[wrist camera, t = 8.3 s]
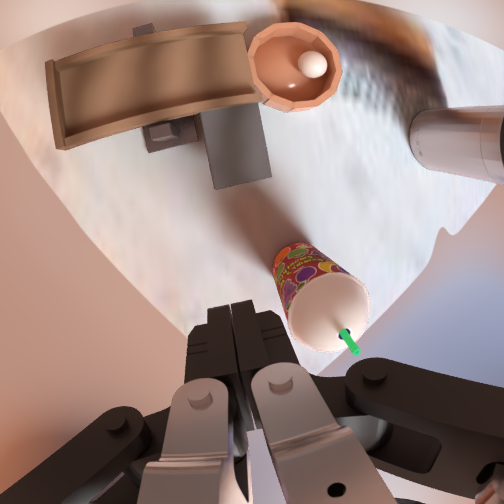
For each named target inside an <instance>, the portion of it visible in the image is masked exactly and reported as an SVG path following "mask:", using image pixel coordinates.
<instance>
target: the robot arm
mask: <svg viewBox="0 0 504 504" xmlns="http://www.w3.org/2000/svg"><path fill="white" fill-rule="evenodd" d="M409 136H410V145H411V149H412V152H413V154H414V156H415V158H416V160H417V161H418V162H419V163H420V164H421V165H422V166H423V167H425V168H427V169H429V170H434V171H439V172H445V173H449V174H455V175H460V176H465V177H470V178H475V179H479V180H484V181H488V182H493V183H497V184H502V185H504V105H498V106H474V107H457V108H442V109H431V110H425V111H422V112H420V113H419V114H417V116H416V117H415V118H414V120H413V122H412V124H411V127H410V135H409ZM231 310H232V314H231ZM231 310H230V306H229V304H228V305H223V306H219V307H214V308H209V309H208V310H207V324H202V325H197V326H195V327H194V328H193V330H192V331H191V332H190V334H189V335H188V344H187V346H188V347H187V356H186V367H185V380H184V385H183V386H181V387H180V388H179V389H178V390H177V391H176V392H175V394H174V396H173V398H172V403H171V406H170V407H168V408H166V409H164V410H162V411H159V412H156V413H154V414H151V415H148V416H145V417H143V416H142V415H141V413H140V412H139V411H138V410H137V409H135V408H132V407H127V406H121V407H116V408H113V409H110V410H108V411H106V412H105V413H103V414H102V415H101V416H100V417H98V418H97V419H96V420H95V421H93V422H92V423H91V424H90V425H88V426H87V427H86V428H85V429H84V430H82V431H81V432H80V433H79V434H77V435H76V436H75V437H74V438H72V439H71V440H70V441H69V442H67V443H66V444H65V445H64V446H62V447H61V448H60V449H59V450H57V451H56V452H55V453H54V454H52V455H51V456H50V457H49V458H47V459H46V460H45V461H43V462H42V463H41V464H40V465H38V466H37V467H36V468H34V469H33V470H32V471H30V472H29V473H28V474H27V475H25V476H24V477H23V478H21V479H20V480H19V481H18V482H16V483H15V484H13V485H12V486H11V487H9V488H8V489H7V490H5V491H4V492H3V493H2V494H0V504H253V499H252V485H251V468H250V454H249V450H248V438H247V433H246V431H251V430H254V424H253V419H252V414H253V418H254V421H255V424H256V428H257V429H261V428H262V429H263V432H264V436H265V439H266V443H267V446H268V450H269V453H270V456H271V459H272V463H273V466H274V468H275V471H276V474H277V477H278V480H279V483H280V486H281V489H282V492H283V495H284V497H285V501H286V504H425V503H421V502H418V501H414V500H409V499H400V498H394V497H393V495H392V494H391V492H390V490H389V489H388V487H387V486H386V484H385V482H384V481H383V479H382V477H381V476H380V474H379V473H378V471H377V469H380V470H382V471H385V472H388V473H390V474H393V475H395V476H398V477H401V478H404V479H406V480H409V481H412V482H415V483H418V484H421V485H424V486H428V487H431V488H435V489H437V490H441V491H444V492H448V493H451V494H455V495H459V496H463V497H467V498H471V499H475V504H504V388H502V387H497V386H493V385H488V384H483V383H479V382H474V381H470V380H466V379H462V378H458V377H453V376H449V375H445V374H441V373H437V372H433V371H429V370H426V369H422V368H418V367H414V366H411V365H407V364H403V363H399V362H396V361H393V360H389V359H385V358H367V359H363V360H361V361H359V362H356V363H355V364H354V365H352V366H351V367H350V368H349V369H348V371H347V373H346V376H343V377H319V376H315V375H312V374H310V373H308V372H307V370H306V369H305V368H303V367H302V366H301V365H300V364H299V361H298V359H297V356H296V354H295V352H294V349H293V347H292V344H291V342H290V339H289V337H288V335H287V332H286V330H285V327H284V325H283V322H282V320H281V318H280V316H279V315H277V314H276V313H274V312H273V311H271V310H269V311H265V312H260V313H256V312H255V309H254V305H253V302H252V299H251V300H247V301H242V302H237V303H233V304H231ZM251 411H252V413H251ZM376 468H377V469H376ZM121 472H123V473H124V474H125V475H124V476H123V477H121V478H120V479H119V480H118V481H117V482H116V483H115V484H114V485H113V486H112V487H111V488H109V489H108V490H107V491H106V492H105V493H104V494H103V495H102V496H101V497H99V498H98V499H97V500H95V501H93V502H90V501H91V499H92V498H93V497H94V496H96V495H97V494H98V493H99V492H100V491H101V490H102V489H104V488H105V487H106V486H107V485H108V484H109V483H110V482H111V481H113V480H114V479H115V478H116V477H117V476H118V475H119V474H120V473H121Z"/></svg>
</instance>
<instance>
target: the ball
mask: <svg viewBox="0 0 504 504" xmlns="http://www.w3.org/2000/svg"><path fill="white" fill-rule="evenodd" d="M298 68H299V70H300V72H301V73H302V74H303V75H305V76H307V77H310V78H317V77H320V76H322V75H323V74H324V73H325V71H326V69H327V61H326V59H325V57H324V56H323V55H322V54H320V53H319V52H316V51H307V52H305V53H303V54H302V55H301V56H300V57H299V60H298Z"/></svg>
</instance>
